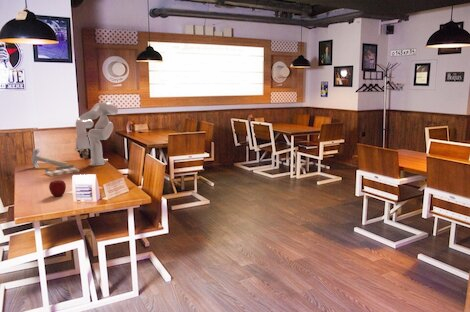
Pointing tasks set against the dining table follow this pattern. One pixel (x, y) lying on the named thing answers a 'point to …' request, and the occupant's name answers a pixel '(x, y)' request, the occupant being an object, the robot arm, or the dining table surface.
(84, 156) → the brown block with stick
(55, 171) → the board
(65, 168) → the rail
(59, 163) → the hammer
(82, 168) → the dining table surface
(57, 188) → the apple
